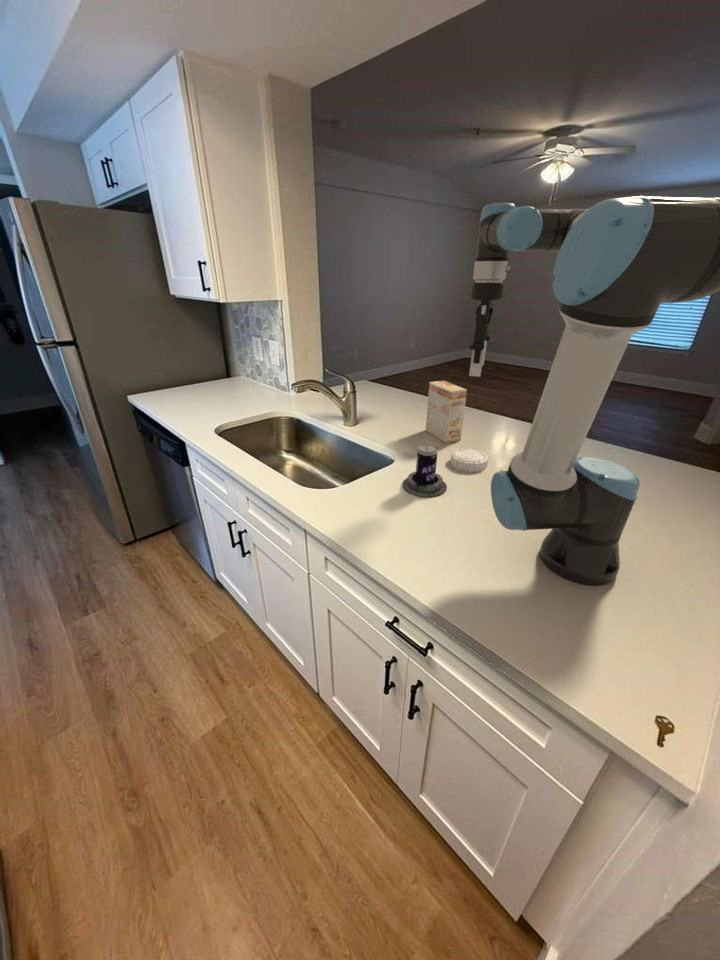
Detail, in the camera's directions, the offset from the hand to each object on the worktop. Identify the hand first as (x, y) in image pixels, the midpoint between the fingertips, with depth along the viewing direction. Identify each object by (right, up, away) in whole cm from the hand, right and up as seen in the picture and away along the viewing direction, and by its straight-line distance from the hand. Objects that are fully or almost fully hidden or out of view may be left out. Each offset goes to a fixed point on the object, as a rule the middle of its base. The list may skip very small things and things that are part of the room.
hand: (476, 370), depth 104 cm
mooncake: (+5, -24, +25) cm, 35 cm away
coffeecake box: (+1, -12, +47) cm, 49 cm away
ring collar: (-12, -31, +11) cm, 35 cm away
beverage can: (-12, -31, +11) cm, 35 cm away
